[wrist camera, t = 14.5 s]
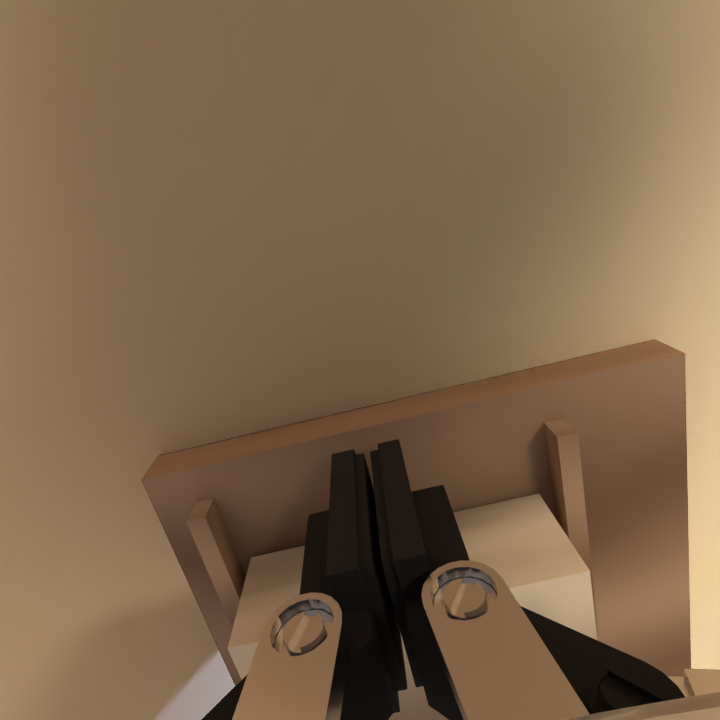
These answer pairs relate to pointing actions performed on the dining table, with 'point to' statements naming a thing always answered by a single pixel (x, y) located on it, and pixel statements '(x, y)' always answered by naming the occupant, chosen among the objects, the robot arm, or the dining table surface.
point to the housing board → (473, 484)
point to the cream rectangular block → (484, 545)
